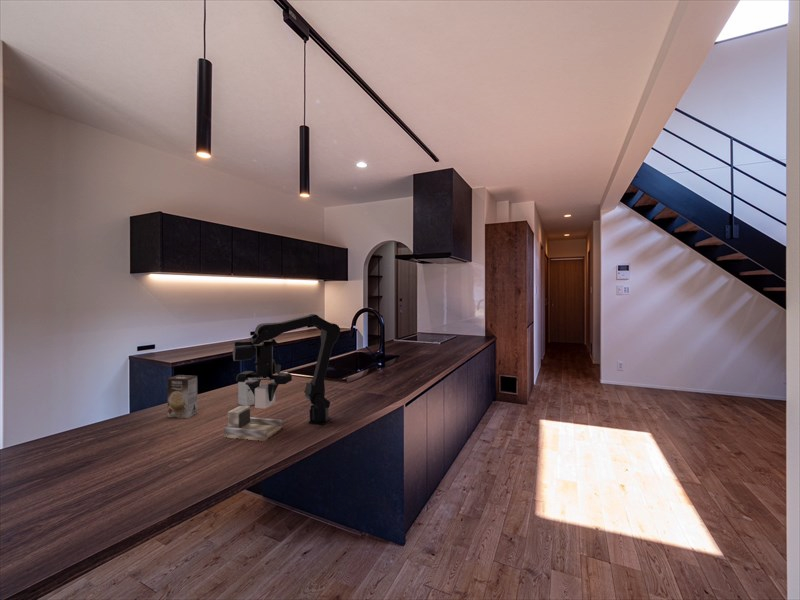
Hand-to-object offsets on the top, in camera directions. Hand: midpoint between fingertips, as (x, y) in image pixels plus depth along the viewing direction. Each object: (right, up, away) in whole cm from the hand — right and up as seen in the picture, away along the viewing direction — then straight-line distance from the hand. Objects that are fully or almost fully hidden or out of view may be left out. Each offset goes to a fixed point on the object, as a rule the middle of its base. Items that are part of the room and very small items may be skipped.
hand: (264, 400), depth 127 cm
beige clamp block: (-4, -12, 0) cm, 12 cm away
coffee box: (-40, -11, +17) cm, 45 cm away
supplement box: (-19, -11, +32) cm, 39 cm away
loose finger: (0, -2, 0) cm, 2 cm away
